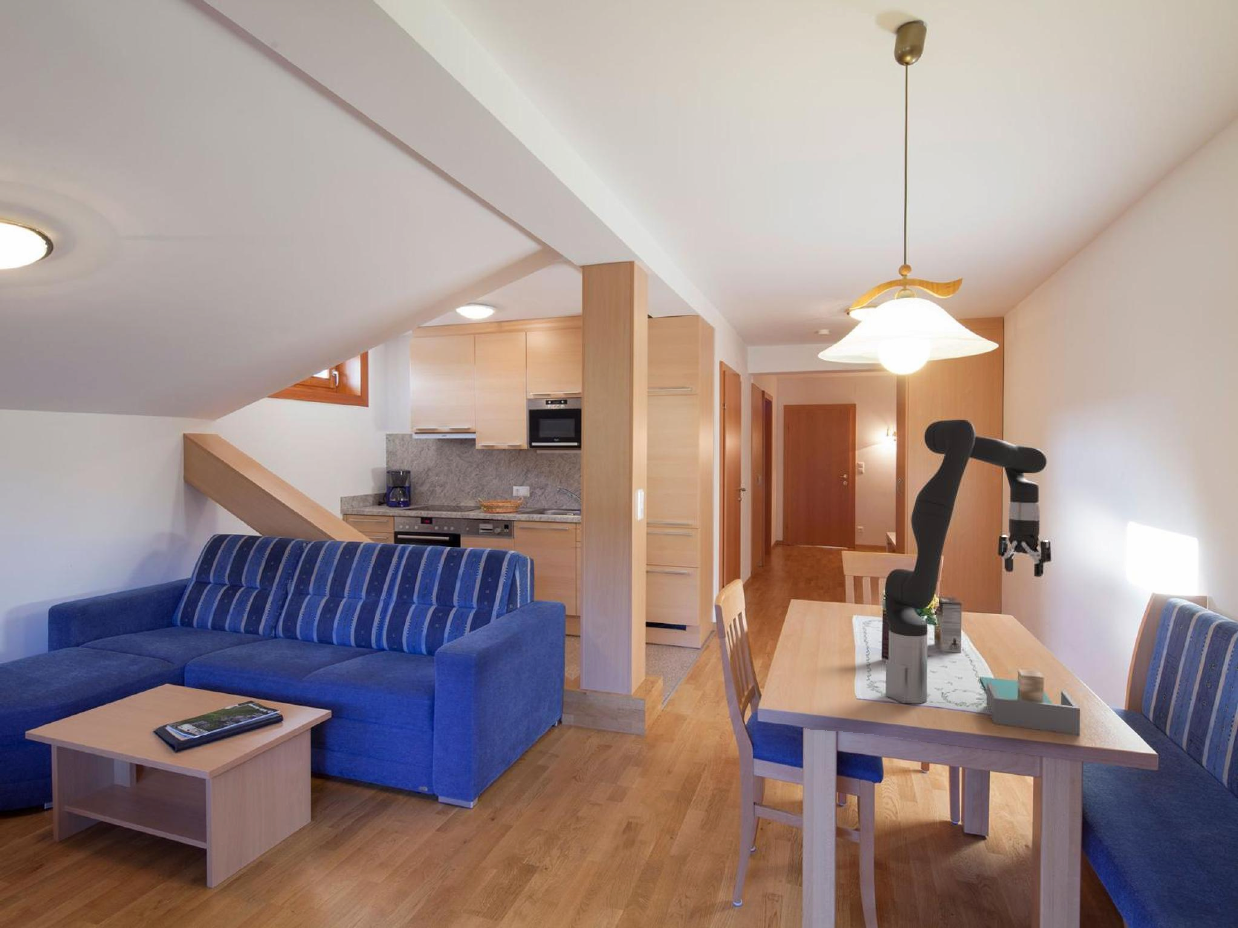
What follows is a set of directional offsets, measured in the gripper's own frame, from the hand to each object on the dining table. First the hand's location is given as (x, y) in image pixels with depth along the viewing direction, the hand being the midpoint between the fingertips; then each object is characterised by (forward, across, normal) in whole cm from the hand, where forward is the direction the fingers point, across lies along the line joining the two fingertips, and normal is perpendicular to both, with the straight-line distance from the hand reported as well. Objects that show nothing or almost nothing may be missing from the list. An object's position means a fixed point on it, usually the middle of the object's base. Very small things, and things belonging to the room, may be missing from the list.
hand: (1023, 574), depth 190 cm
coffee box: (+30, -28, +3) cm, 41 cm away
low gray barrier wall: (+29, +22, -29) cm, 47 cm away
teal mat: (+29, +9, -16) cm, 34 cm away
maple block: (+26, +22, -29) cm, 45 cm away
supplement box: (+30, -24, -23) cm, 44 cm away
